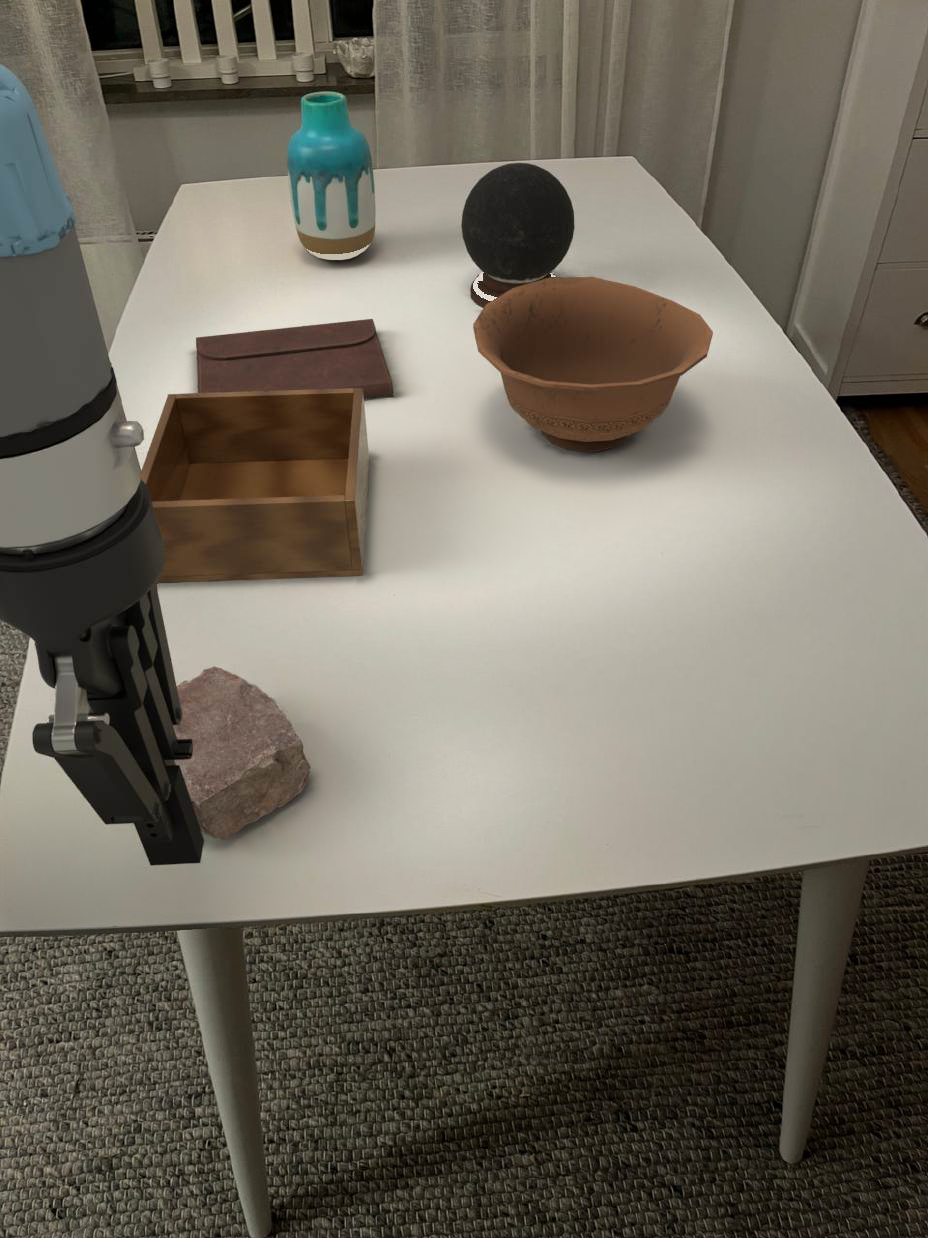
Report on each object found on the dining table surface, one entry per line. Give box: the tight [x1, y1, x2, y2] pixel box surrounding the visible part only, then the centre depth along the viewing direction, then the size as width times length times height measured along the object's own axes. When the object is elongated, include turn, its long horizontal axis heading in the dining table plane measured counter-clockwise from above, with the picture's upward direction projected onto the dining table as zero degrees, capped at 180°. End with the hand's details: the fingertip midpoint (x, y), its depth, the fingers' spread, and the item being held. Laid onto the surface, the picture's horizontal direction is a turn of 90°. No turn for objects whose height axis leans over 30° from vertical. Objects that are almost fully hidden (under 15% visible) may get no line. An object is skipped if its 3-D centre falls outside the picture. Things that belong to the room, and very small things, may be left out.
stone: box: [173, 666, 311, 840], centre depth 68 cm, size 12×9×5 cm
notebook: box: [195, 318, 394, 400], centre depth 109 cm, size 15×20×2 cm
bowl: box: [472, 276, 714, 453], centre depth 97 cm, size 22×22×11 cm
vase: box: [286, 91, 377, 254], centre depth 127 cm, size 11×11×19 cm
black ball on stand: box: [460, 162, 576, 309], centre depth 119 cm, size 13×13×15 cm
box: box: [141, 388, 370, 584], centre depth 88 cm, size 18×18×8 cm
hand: (177, 852), depth 56 cm, fingers closed
